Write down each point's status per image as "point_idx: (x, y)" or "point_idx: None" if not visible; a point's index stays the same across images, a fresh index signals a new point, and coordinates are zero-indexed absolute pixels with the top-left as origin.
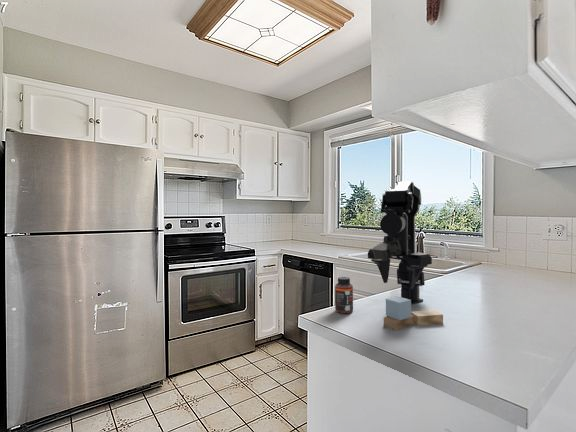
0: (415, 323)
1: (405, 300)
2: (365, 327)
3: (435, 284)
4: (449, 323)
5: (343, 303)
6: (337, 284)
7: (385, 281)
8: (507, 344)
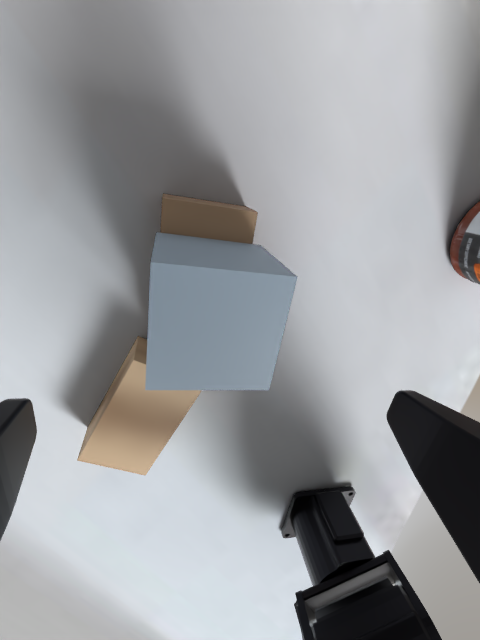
0: None
1: (163, 352)
2: (302, 100)
3: None
4: (73, 444)
5: None
6: None
7: (405, 408)
8: None
